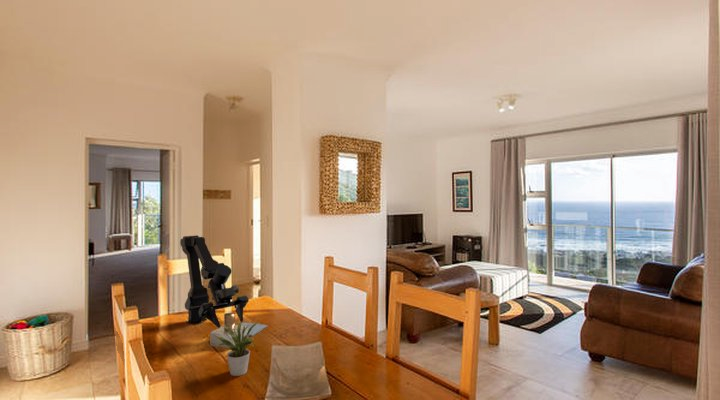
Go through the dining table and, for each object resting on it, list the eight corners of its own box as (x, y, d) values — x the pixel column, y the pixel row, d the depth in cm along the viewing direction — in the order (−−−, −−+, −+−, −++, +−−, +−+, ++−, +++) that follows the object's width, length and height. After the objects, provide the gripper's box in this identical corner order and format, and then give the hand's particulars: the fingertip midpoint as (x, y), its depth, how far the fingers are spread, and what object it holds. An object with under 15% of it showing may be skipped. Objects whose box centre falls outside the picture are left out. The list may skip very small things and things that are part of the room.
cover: (210, 345, 144) (210, 316, 143) (226, 336, 153) (226, 309, 153) (232, 348, 141) (232, 319, 141) (248, 338, 150) (248, 311, 150)
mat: (227, 333, 157) (227, 331, 157) (243, 323, 168) (243, 322, 168) (252, 336, 153) (252, 335, 153) (267, 326, 165) (267, 325, 165)
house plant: (247, 357, 133) (247, 311, 133) (271, 368, 125) (271, 319, 124) (209, 371, 122) (209, 321, 122) (233, 385, 114) (233, 331, 113)
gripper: (201, 283, 143) (213, 318, 135) (246, 275, 156) (260, 308, 148) (193, 299, 149) (204, 334, 141) (237, 291, 162) (250, 323, 154)
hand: (231, 324), depth 146 cm, fingers open, 9 cm apart
